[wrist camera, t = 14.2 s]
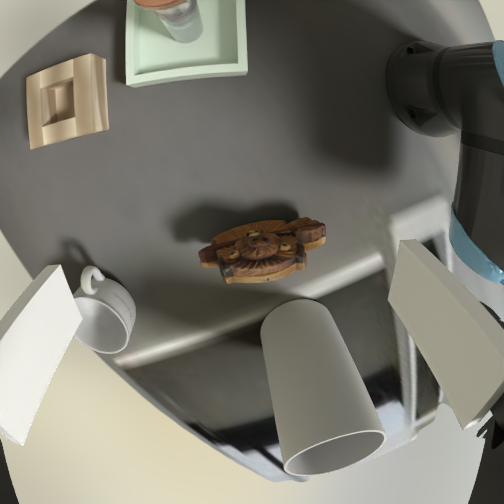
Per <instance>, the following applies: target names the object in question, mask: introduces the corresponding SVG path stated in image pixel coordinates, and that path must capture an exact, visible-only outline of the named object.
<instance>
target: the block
mask: <svg viewBox="0 0 504 504" xmlns="http://www.w3.org/2000/svg"><path fill="white" fill-rule="evenodd" d="M26 88H27V115H28V129H29V139H30V148H31V149H34V148H38V147H41V146H45V145H49V144H53V143H56V142H60V141H63V140H67V139H71V138H75V137H79V136H83V135H87V134H91V133H95V132H100V131H105V130H109V122H108V109H107V91H106V59H103V58H101V57H98V56H96V55H94V54H91V53H90V54H86V55H83V56H80V57H77V58H74V59H71V60H69V61H66V62H63V63H60V64H58V65H55V66H52V67H50V68H47V69H45V70H43V71H40V72H38V73H36V74H33V75H31V76H29V77H27V78H26Z"/></svg>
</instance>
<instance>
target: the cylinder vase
mask: <svg viewBox="0 0 504 504" xmlns="http://www.w3.org/2000/svg"><path fill="white" fill-rule="evenodd" d="M260 335H261V342H262V347H263V353H264V359H265V364H266V370H267V376H268V381H269V387H270V393H271V398H272V404H273V409H274V415H275V421H276V426H277V432H278V437H279V443H280V448H281V454H282V459H283V465H284V469H285V471H286V472H287V473H289V474H292V475H298V476H313V475H320V474H326V473H330V472H334V471H337V470H341V469H344V468H346V467H349V466H351V465H354V464H356V463H358V462H360V461H362V460H364V459H366V458H367V457H369V456H370V455H372V454H373V453H375V452H376V451H377V450H378V449H379V448H380V447H381V446H382V445H383V444H384V443H385V441H386V439H387V435H386V433H385V430H384V428H383V426H382V423H381V421H380V419H379V416H378V414H377V412H376V410H375V407H374V405H373V403H372V401H371V398H370V396H369V394H368V392H367V390H366V387H365V385H364V383H363V381H362V379H361V377H360V374H359V372H358V370H357V368H356V366H355V364H354V362H353V359H352V357H351V355H350V353H349V351H348V349H347V347H346V345H345V343H344V341H343V338H342V336H341V334H340V332H339V330H338V328H337V326H336V324H335V322H334V320H333V318H332V316H331V314H330V312H329V311H328V309H327V308H326V307H325V306H323V305H322V304H320V303H318V302H316V301H313V300H306V299H300V300H293V301H289V302H286V303H284V304H282V305H280V306H278V307H277V308H275V309H274V310H272V311H271V312H270V313H269V314H268V316H267V317H266V318H265V320H264V321H263V324H262V326H261V332H260Z"/></svg>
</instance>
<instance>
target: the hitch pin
mask: <svg viewBox="0 0 504 504" xmlns="http://www.w3.org/2000/svg"><path fill="white" fill-rule="evenodd" d="M133 1H134V2H135V3H136V4H137V5H138V6H140V7H142V8H144V9H148V10H154V12H155V13H156V14H157V16H158V17H159V19H160V20H161V21H162V23H163V24H164V26H165V27H166V28H167V30H168V31H169V33H170V34H171V36H172V37H173V38H174V39H175V40H176V41H177V42H180V43H191V42H193V41H195V40H197V39H198V38H199V37H200V36H201V34H202V32H203V24H202V20H201V15H200V11H199V7H198V3H197V0H133Z"/></svg>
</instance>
